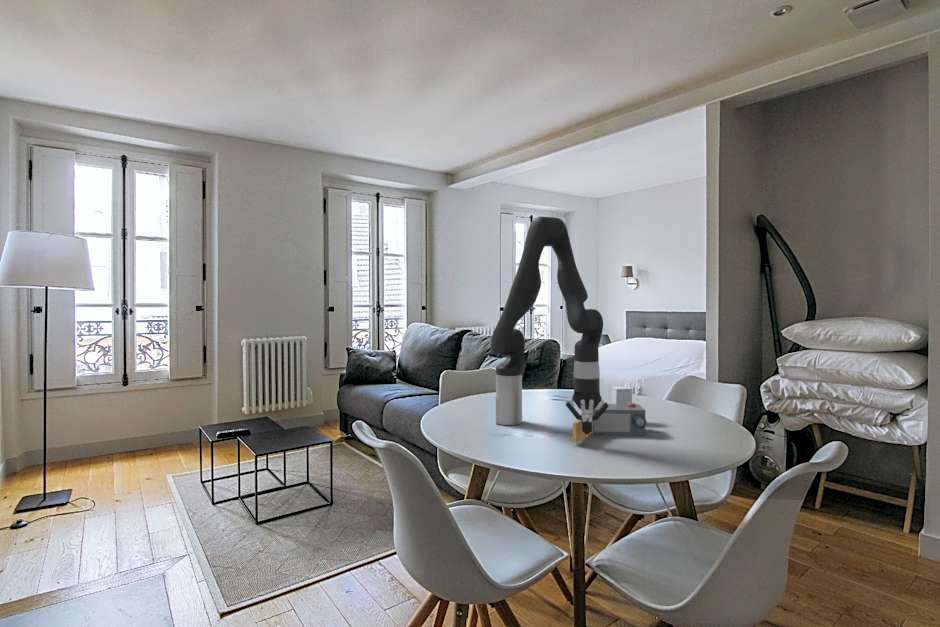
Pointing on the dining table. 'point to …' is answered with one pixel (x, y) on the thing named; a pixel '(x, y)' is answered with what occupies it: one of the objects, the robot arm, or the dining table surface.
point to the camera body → (620, 419)
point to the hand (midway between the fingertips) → (587, 433)
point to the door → (580, 430)
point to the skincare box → (621, 395)
